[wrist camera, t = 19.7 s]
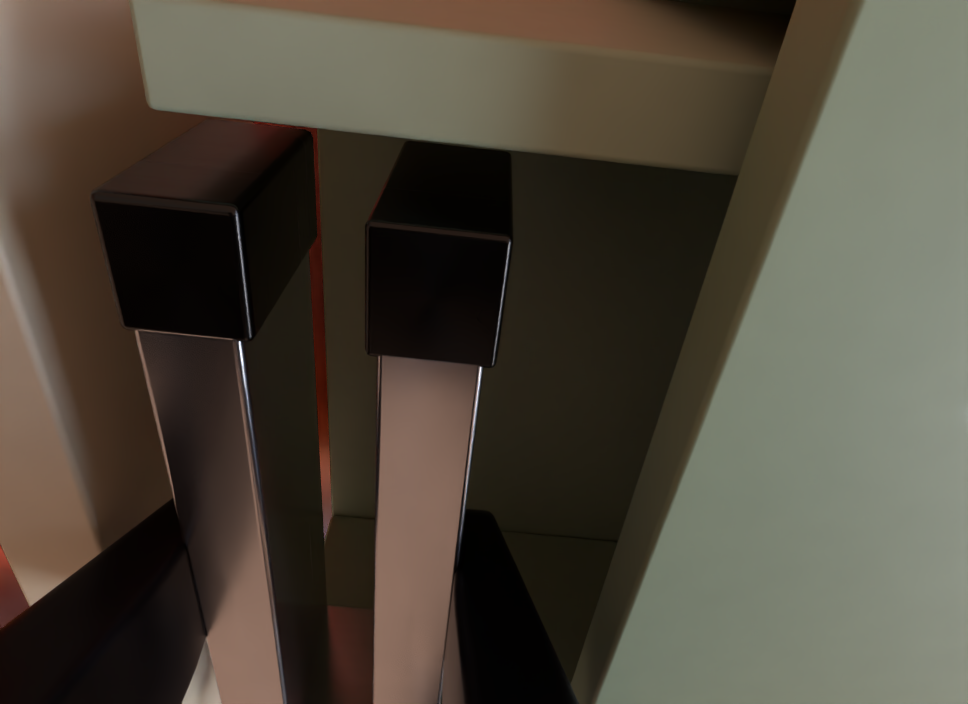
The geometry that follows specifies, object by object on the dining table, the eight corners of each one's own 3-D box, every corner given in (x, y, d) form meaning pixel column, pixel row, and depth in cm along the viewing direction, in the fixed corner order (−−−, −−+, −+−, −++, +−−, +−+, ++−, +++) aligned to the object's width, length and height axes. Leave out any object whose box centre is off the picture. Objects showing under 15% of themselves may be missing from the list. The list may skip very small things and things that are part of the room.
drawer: (19, 491, 16) (-220, 769, 11) (-260, -176, 9) (-1400, -332, 4) (768, 560, 17) (891, 854, 11) (1074, -7, 9) (1788, 74, 4)
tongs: (447, 654, 11) (436, 793, 10) (274, 639, 11) (228, 776, 10) (512, 150, 6) (515, 237, 5) (203, 115, 6) (82, 191, 5)
